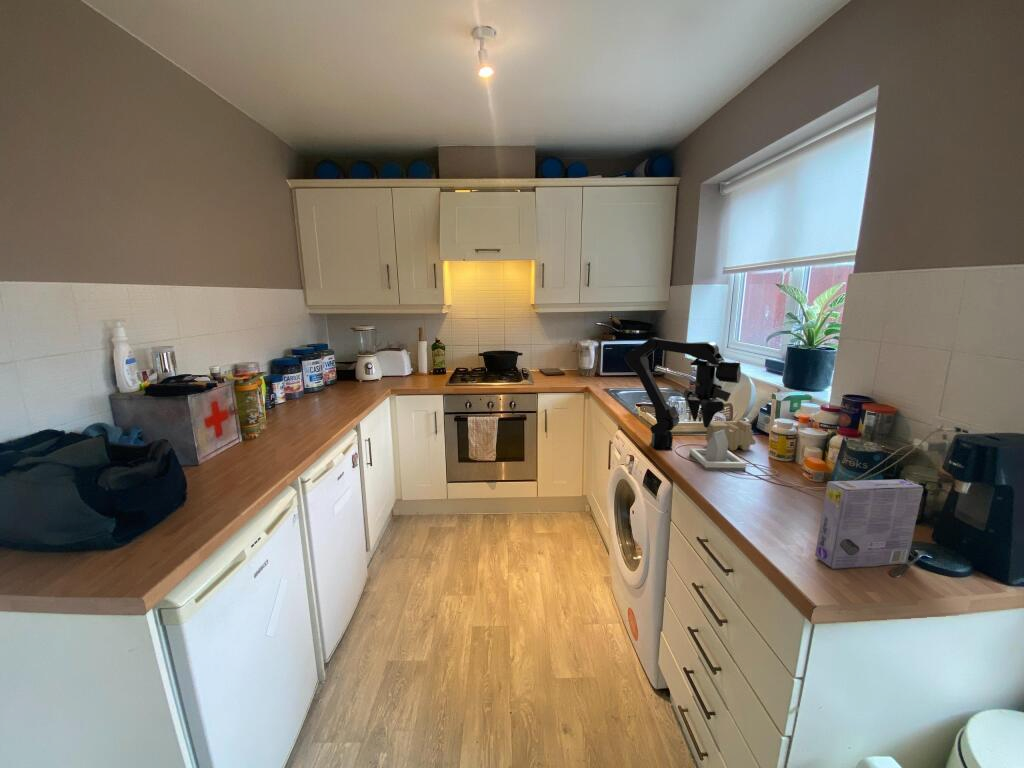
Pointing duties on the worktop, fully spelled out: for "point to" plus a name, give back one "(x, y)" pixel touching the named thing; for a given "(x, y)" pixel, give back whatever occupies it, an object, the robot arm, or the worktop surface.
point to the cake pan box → (868, 522)
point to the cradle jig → (728, 464)
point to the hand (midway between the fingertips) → (700, 423)
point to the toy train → (733, 434)
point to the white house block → (717, 447)
